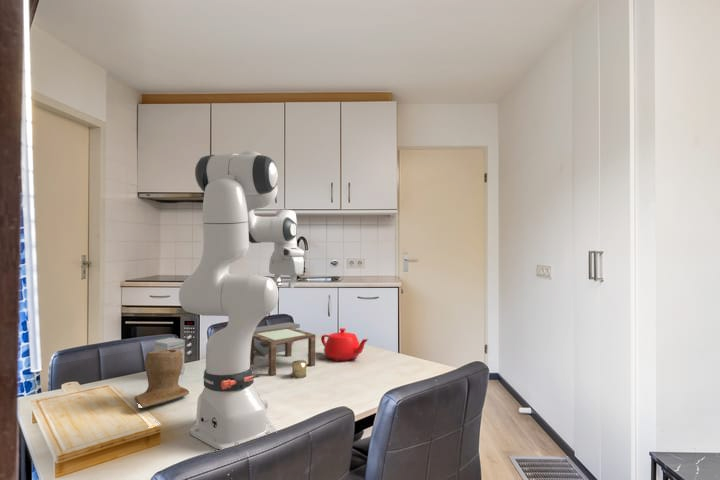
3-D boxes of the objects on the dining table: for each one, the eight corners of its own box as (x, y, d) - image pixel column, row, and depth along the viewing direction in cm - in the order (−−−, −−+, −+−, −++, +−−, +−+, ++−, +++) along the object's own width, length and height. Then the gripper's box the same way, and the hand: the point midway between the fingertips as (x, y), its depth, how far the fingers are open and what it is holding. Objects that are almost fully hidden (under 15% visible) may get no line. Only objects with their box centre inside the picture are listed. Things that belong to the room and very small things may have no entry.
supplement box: (152, 376, 137) (153, 340, 137) (171, 370, 143) (172, 336, 144) (166, 380, 133) (166, 343, 134) (184, 373, 140) (185, 339, 140)
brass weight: (309, 376, 138) (309, 362, 138) (297, 379, 135) (297, 365, 135) (301, 373, 142) (301, 359, 142) (289, 375, 138) (289, 362, 139)
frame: (315, 365, 151) (315, 334, 151) (271, 375, 138) (271, 342, 138) (289, 355, 166) (289, 327, 166) (246, 363, 153) (247, 333, 153)
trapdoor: (305, 337, 152) (305, 334, 152) (274, 342, 142) (274, 339, 142) (287, 331, 162) (287, 328, 162) (256, 336, 153) (256, 333, 153)
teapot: (309, 357, 163) (309, 328, 163) (332, 349, 176) (333, 322, 176) (357, 367, 148) (357, 336, 149) (378, 358, 161) (378, 329, 161)
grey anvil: (289, 345, 183) (290, 322, 183) (299, 348, 178) (299, 324, 178) (241, 355, 165) (241, 329, 166) (250, 358, 160) (250, 332, 160)
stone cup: (175, 389, 125) (176, 342, 125) (194, 398, 117) (195, 348, 118) (123, 403, 113) (125, 352, 113) (141, 414, 106) (142, 359, 106)
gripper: (265, 251, 156) (264, 285, 155) (292, 251, 141) (291, 289, 140) (279, 251, 160) (278, 284, 160) (306, 251, 145) (306, 288, 144)
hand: (285, 286), depth 150 cm, fingers open, 8 cm apart
